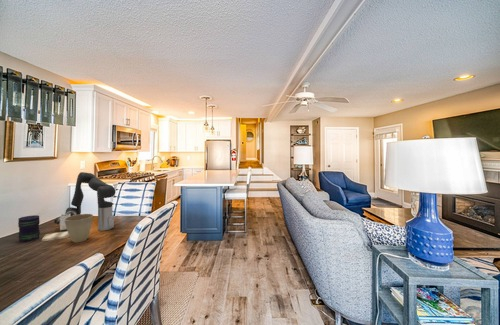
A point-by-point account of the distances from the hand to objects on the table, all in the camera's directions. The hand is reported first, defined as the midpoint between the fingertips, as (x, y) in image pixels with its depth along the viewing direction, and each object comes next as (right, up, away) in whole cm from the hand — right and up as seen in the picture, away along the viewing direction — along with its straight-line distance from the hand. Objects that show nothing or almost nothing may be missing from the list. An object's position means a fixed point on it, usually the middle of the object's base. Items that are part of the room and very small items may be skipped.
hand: (65, 222), depth 156 cm
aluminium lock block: (0, -7, 0) cm, 7 cm away
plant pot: (+24, -8, -16) cm, 30 cm away
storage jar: (-10, -7, -16) cm, 20 cm away
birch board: (+5, -7, -10) cm, 14 cm away
